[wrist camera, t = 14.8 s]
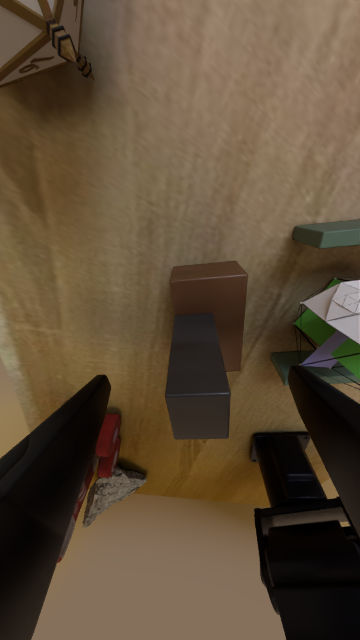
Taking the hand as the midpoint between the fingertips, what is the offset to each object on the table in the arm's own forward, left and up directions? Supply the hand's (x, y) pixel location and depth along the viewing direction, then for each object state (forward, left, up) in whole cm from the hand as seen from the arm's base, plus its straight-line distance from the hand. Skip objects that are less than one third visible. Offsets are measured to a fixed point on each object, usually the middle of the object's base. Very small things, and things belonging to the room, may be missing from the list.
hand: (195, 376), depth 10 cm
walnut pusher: (0, 0, -7) cm, 7 cm away
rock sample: (-28, +13, -7) cm, 31 cm away
